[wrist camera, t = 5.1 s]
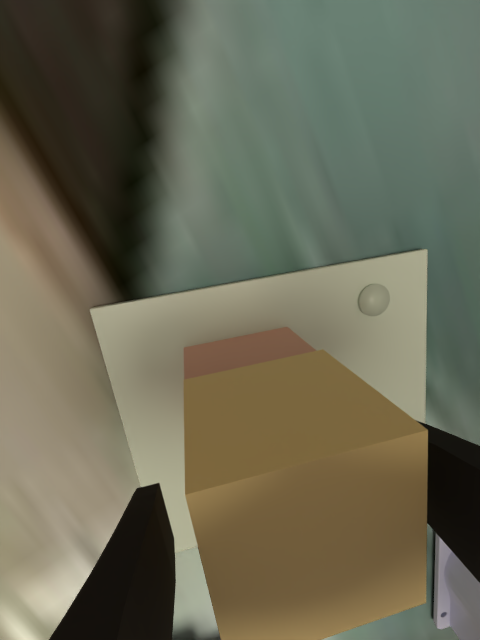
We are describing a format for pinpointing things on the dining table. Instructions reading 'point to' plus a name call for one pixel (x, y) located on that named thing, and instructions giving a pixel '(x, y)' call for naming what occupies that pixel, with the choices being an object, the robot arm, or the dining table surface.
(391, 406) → the ochre brick
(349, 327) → the plate
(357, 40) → the dining table surface
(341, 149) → the dining table surface
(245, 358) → the terracotta brick
